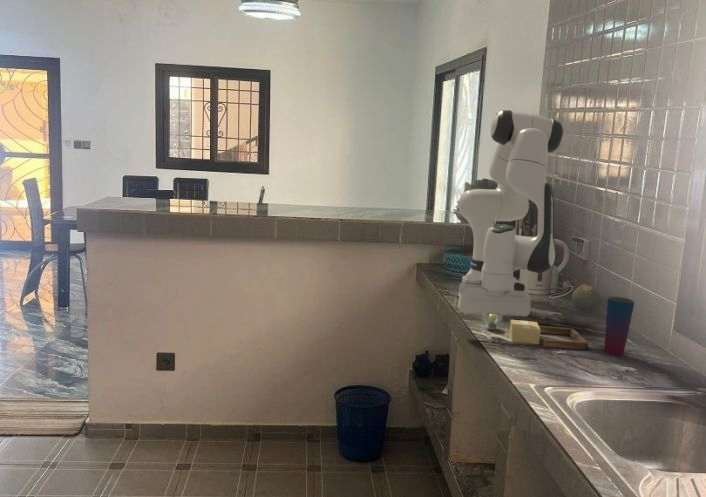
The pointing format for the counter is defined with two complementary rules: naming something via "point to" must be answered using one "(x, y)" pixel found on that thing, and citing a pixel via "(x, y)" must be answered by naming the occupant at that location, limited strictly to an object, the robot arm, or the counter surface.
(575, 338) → the display bay
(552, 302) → the counter surface
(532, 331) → the carton
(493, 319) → the lime
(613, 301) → the cup
